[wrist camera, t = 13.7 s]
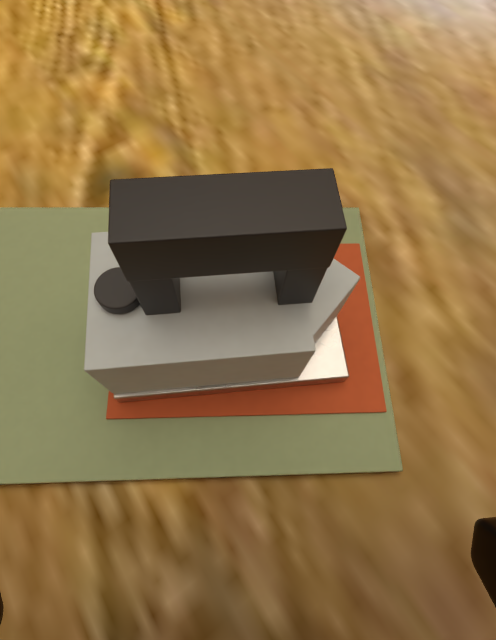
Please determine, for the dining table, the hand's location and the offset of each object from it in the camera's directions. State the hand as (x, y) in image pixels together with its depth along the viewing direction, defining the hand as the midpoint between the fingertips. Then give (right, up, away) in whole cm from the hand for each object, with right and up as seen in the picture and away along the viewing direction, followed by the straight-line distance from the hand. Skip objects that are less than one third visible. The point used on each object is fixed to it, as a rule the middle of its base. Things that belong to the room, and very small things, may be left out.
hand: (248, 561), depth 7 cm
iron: (-1, +4, +13) cm, 14 cm away
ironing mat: (-7, +4, +14) cm, 16 cm away
